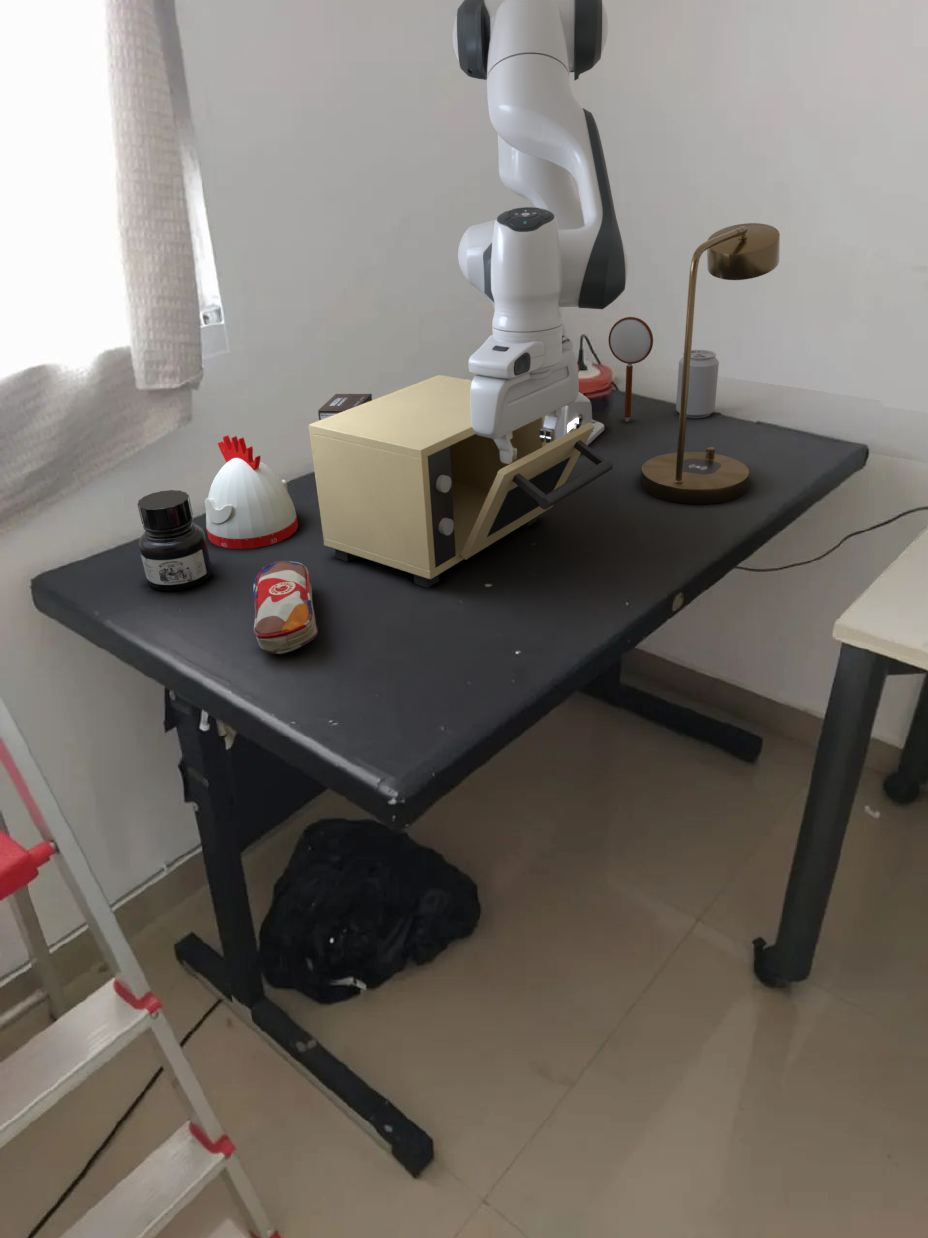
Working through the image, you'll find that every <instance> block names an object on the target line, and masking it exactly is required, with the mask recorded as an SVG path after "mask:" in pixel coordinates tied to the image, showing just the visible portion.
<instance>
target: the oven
mask: <svg viewBox="0 0 928 1238" xmlns="http://www.w3.org/2000/svg"><path fill="white" fill-rule="evenodd" d="M472 380H473V379H472ZM472 380H471V379H466V378H461V377H460V378H459V377H453V376H448V375H443V374H437V375H435V376H433V377H430V378H427V379H425V380H422V381H419V382H416V383H414V384H411V385H408V386H406V387H403V388H400V389H398V390H395V391H392V392H390V393H388V394H385V395H383V396H379V397H378V398H375V399H372V401H369V402H367V403H364V404H361V405H359V406H356V407H354V408H351V409H348V410H346V411H343V412H341V413H338V414H335V415H333V416H330V417H327V418H325V419H322V420H320V421H319V420H317V421H315V422H312V423H310V424H308V432H309V439H310V448H311V456H312V464H313V471H314V477H315V485H316V492H317V494H316V495H317V500H318V509H319V516H320V523H321V530H322V537H323V538H322V539H323V545H324V546H325V547H329V548H331V549H334V550H335V558H336V559H340V560H341V561H345V562H350V561H352V560H353V559H355V558H357V557H360V558H362V559H366V560H369V561H372V562H375V563H378V564H380V565H381V564H382V565H384V566H388V567H391V568H394V569H396V570H400V571H403V572H407V573H409V574H412V575H413V583H414V584H415V585H418V586H421V587H424V588H427V589H428V588H430V587H431V586H433V585H436V583H438V582H439V581H440V579H439V578H440V577H439V575H440V574H442V573H443V572H445V571H447V570H448V569H450V568H452V567H454V566H455V565H457V564H458V563H460V562H462V561H463V560H465V559H464V558H463V557H462V556H461V553H462V551H463V549H464V546H465V544H466V542H467V540H468V538H469V535H470V533H471V531H472V529H473V527H474V524H475V522H476V520H477V518H478V516H479V513H480V511H481V509H482V507H483V505H484V502H485V500H486V498H487V496H488V494H489V491H490V489H491V487H492V485H493V482H494V480H495V478H496V476H497V474H498V471H499V470H500V469H502V468H504V467H506V466H508V465H510V464H512V463H513V462H512V463H510V464H506V463H502V462H501V461H500V449H498V447H497V445H496V443H495V441H494V439H492V438H487V437H482V436H479V435H477V434H476V433H475V431H474V430H473V428H472V423H471V409H470V388H471V383H472ZM545 416H546V415H545ZM545 416H543V417H541V418H539V419H537V420H535V421H533V422H531V423H529V424H527V425H525V426H523V427H520V428H518V429H516V430H514V431H512V439H510V442H511V445H512V447H513V448H517V460H519V459H521V458H523V457H525V456H527V455H529V454H531V453H532V452H534V451H536V450H538V449H540V448H542V447H544V446H546V445H547V443H546V442H541V440H540V429H542V428H543V425H544V420H545ZM517 460H516V461H517ZM514 462H515V461H514ZM537 521H538V516H537V517H535V518H533V519H532V520H530V521H528V522H527V523H525V524H523V525H522V526H527V527H529V526H531V525H532V524H534V523H535V522H537Z"/></svg>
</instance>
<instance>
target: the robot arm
mask: <svg viewBox="0 0 928 1238" xmlns="http://www.w3.org/2000/svg"><path fill="white" fill-rule="evenodd" d="M607 14H608V13H607V11H606V8H605V5H604V3H603V0H463V1H462V2H461V4H460V5H459V6H458V8H457V11H456V16H455V19H454V22H453V27H452V45H453V51H454V54H455V57H456V59H457V62H458V63H459V68H460V70H461V71H462V72H463V73H464V74H465V75H466V76H467V77H469V78H473V79H477V80H485V81H486V96H487V97H486V98H487V108H488V109H487V110H488V115H489V120H490V123H491V125H492V127H493V129H494V131H495V132H496V133H497V154H498V155H497V157H498V158H497V159H498V175H499V179H500V181H501V182H502V184H503V186H505V188H506V189H508V190H509V191H510V192H512V193H513V194H515V195H517V196H519V197H521V198H523V199H525V200H527V201H529V202H530V203H532V205H533V206H525V207H524V206H523V207H516V208H511V209H509V210H506V211H503V212H502V213H500V214H499V215H498V216H497V217H495V219H493V220H489V221H485V222H481V223H477V224H474V225H470V226H469V227H468V228H466V230H465V232H464V233H463V235H462V237H461V239H460V241H459V243H458V249H457V260H458V266H459V269H460V272H461V274H462V276H463V277H464V278H465V280H466V281H467V282H468V283H469V284H470V285H471V286H472V287H474V288H476V290H478V291H479V292H480V293H481V294H482V295H483V296H484V297H485V298H486V299H487V300H488V302H489V303H490V305H491V306H492V308H493V310H494V312H493V317H492V320H491V321H492V322H491V326H492V327H491V328H492V329H491V330H492V334H490V335H489V336H488V337H487V339H485V341H484V342H483V344H482V345H481V346H479V347H478V348H477V350H476V351H475V352H473V353H472V354H471V355H470V357H469V358H468V372H469V373H470V374H473V375H475V376H474V377H472V383H471V388H470V409H471V423H472V428H473V430H474V431H475V433H476V434H477V435H479V436H482V437H487V438H492V439H494V441H495V443H496V445H497V447H498V449H500V461H501V462H502V463H506V464H510V463H512V462H514V461H516V460H517V448H513V447H512V445H511V442H510V439H512V431H514V430H516V429H518V428H520V427H523V426H525V425H527V424H529V423H531V422H533V421H535V420H537V419H539V418H541V417H543V416H545V415H546V416H545V420H544V425H543V428H542V429H540V440H541V442H546V443H547V445H548V444H550V443H551V442H553V441H555V440H557V439H559V438H561V437H563V436H565V435H567V434H569V433H570V432H572V431H574V430H576V429H578V428H580V427H582V426H584V425H586V424H588V423H591V424H592V425H593V426H594V429H593V431H592V433H591V434H590V436H589V438H588V440H587V442H586V445H587V446H589V445H590V444H591V443H592V442H593V441H594V440H595V439H596V438H597V437H599V436H600V435H601V434H602V433H603V432H604V431H605V424H604V423H602V422H600V421H597V420H595V419H593V409H592V402H591V400H590V399H589V398H588V397H587V396H585V394H582V393H580V392H579V391H580V381H579V373H580V366H579V364H578V359H577V355H576V353H575V351H574V350H573V348H574V345H573V344H574V343H573V341H572V340H571V338H570V337H569V336H568V335H567V326H566V324H565V321H564V320H563V318H562V314H561V310H560V308H578V309H589V310H590V309H592V310H603V309H606V308H607V307H608V306H609V305H611V304H612V303H614V302H615V301H616V300H617V299H618V298H619V297H620V296H621V295H622V294H623V292H624V291H625V289H626V284H627V281H628V273H629V262H628V255H627V251H626V247H625V244H624V242H623V239H622V235H621V231H620V227H619V223H618V219H617V215H616V209H615V205H614V199H613V193H612V189H611V184H610V178H609V173H608V169H607V163H606V158H605V153H604V148H603V144H602V141H601V140H602V139H601V136H600V130H599V128H598V125H597V122H596V120H595V117H594V115H593V113H592V112H591V111H589V110H587V109H586V108H584V107H582V106H581V105H580V104H579V102H578V101H577V99H576V98H575V96H574V93H573V92H572V89H571V82H570V73H573V80H574V81H577V80H579V78H580V75H581V74H583V73H585V72H588V71H590V70H592V69H593V68H594V67H595V66H596V65H597V64H598V63H599V61H600V60H601V58H602V54H603V52H604V49H605V47H606V43H607V39H608V33H609V21H608V15H607ZM571 175H572V177H573V178H574V180H575V182H576V186H577V191H578V196H577V193H576V191H575V189H574V186H573V183H572V178H571ZM578 197H579V198H578Z"/></svg>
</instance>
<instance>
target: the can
mask: <svg viewBox="0 0 928 1238" xmlns="http://www.w3.org/2000/svg"><path fill="white" fill-rule="evenodd" d="M716 356H717V353H716V352H715V351H713V350H708V349H691V361H690V375H689V389H688V402H687V416H686V418H689V419H703V418H707V417H709V416H710V415H711V414H713V413H714V412H715V410H716V400H717V389H718V376H719V367H720V366H719V365H720V361H719V360H718V358H717V357H716ZM683 360H684V352H682V357H681V358H680V359H679V361H678V371H677V372H678V373H677V385H676V386H677V388H676V399H675V400H676V401H675V402H676V403H675V410H676V412H678V414H680V404H681V389H682V374H683Z"/></svg>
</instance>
